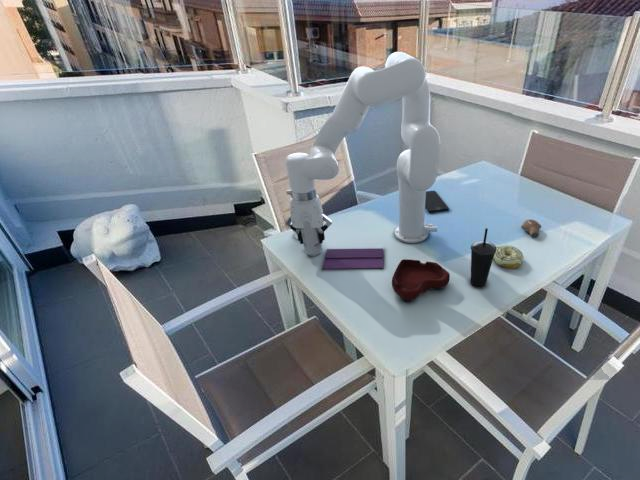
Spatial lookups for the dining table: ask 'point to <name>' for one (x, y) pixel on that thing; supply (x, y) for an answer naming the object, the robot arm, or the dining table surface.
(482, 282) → the drinking cup
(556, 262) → the dining table surface
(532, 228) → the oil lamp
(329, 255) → the napkin
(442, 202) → the cell phone
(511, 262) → the decorated donut
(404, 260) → the ashtray
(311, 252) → the energy drink can
